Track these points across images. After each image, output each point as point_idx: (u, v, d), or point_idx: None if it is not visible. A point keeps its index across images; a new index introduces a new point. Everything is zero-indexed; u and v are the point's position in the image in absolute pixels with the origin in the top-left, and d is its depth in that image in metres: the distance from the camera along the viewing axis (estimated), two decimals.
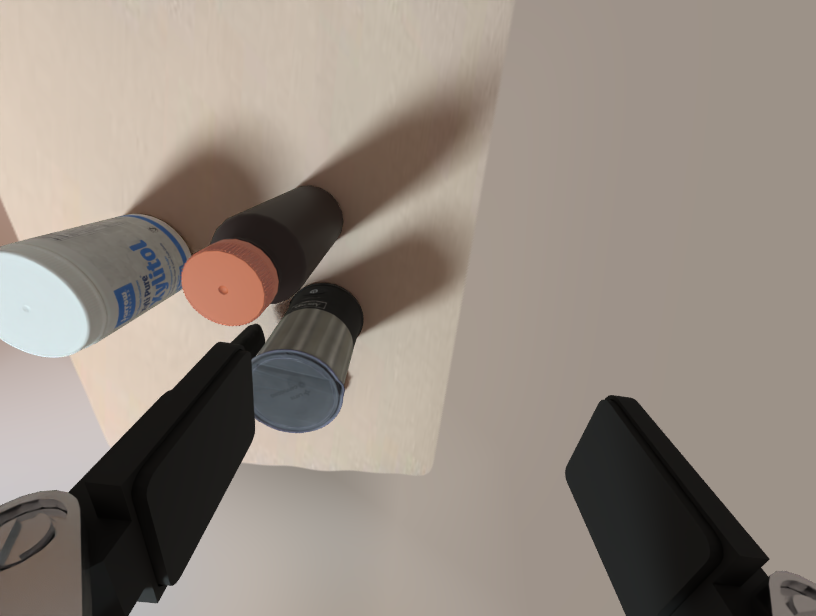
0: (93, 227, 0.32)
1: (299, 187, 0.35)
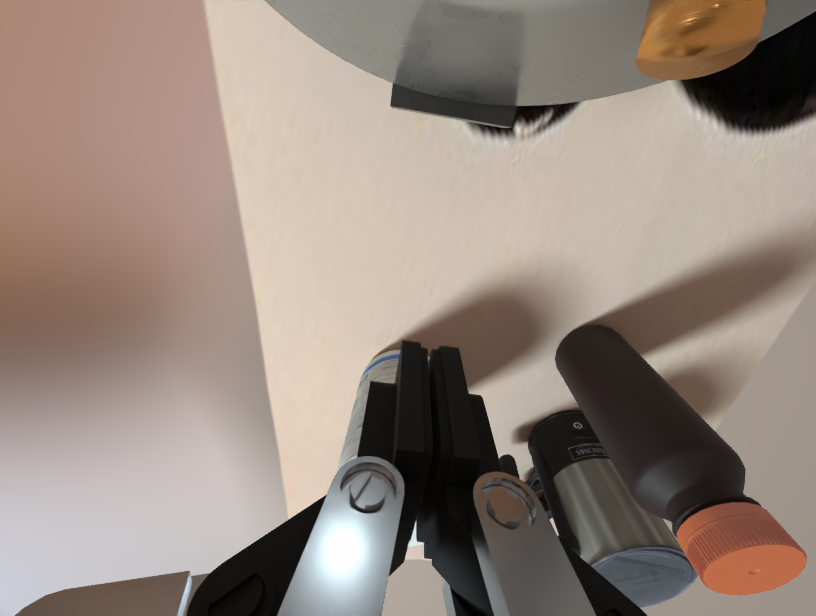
0: None
1: (597, 332, 0.33)
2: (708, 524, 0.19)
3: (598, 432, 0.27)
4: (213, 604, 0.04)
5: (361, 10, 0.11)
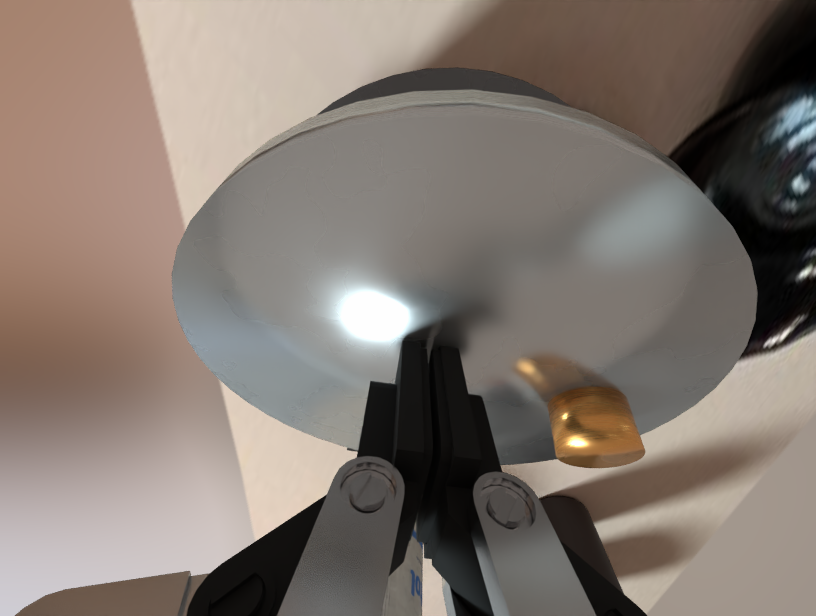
0: None
1: (561, 509, 0.35)
2: None
3: None
4: (213, 603, 0.04)
5: (322, 405, 0.14)
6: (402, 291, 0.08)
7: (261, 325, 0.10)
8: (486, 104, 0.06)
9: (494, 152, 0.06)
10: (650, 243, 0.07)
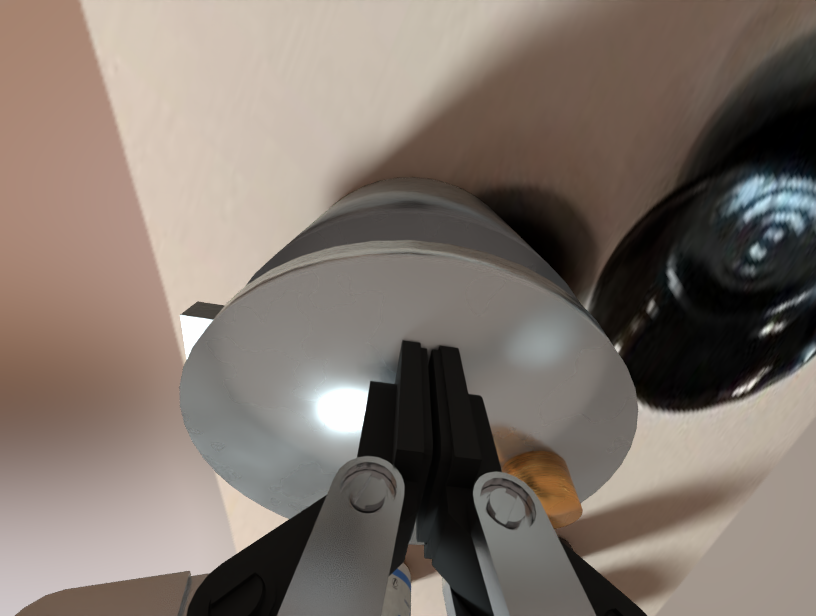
0: None
1: None
2: None
3: None
4: (213, 603, 0.04)
5: (301, 484, 0.15)
6: (370, 375, 0.11)
7: (252, 407, 0.12)
8: (418, 251, 0.09)
9: (425, 281, 0.09)
10: (541, 335, 0.10)
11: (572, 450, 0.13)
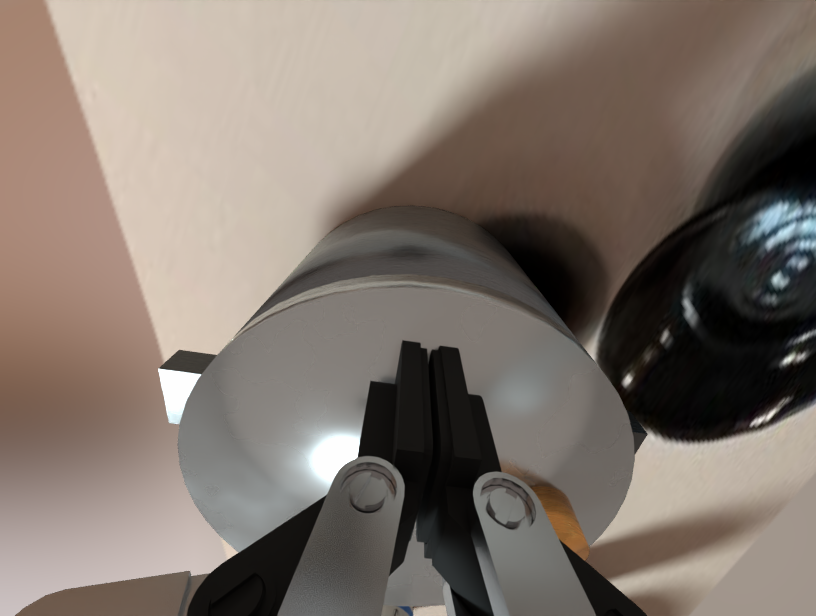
0: None
1: None
2: None
3: None
4: (213, 605, 0.04)
5: None
6: None
7: (251, 444, 0.12)
8: (416, 283, 0.10)
9: (422, 309, 0.09)
10: (534, 361, 0.10)
11: (574, 484, 0.12)
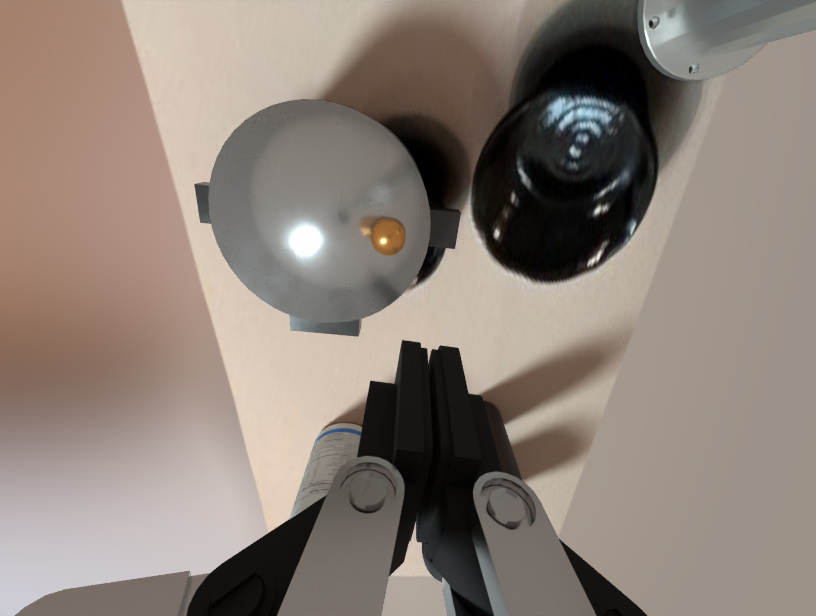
0: (340, 461, 0.43)
1: None
2: None
3: None
4: (213, 603, 0.04)
5: (270, 262, 0.27)
6: (296, 167, 0.24)
7: (243, 197, 0.25)
8: None
9: (311, 108, 0.22)
10: (364, 134, 0.23)
11: (403, 214, 0.25)
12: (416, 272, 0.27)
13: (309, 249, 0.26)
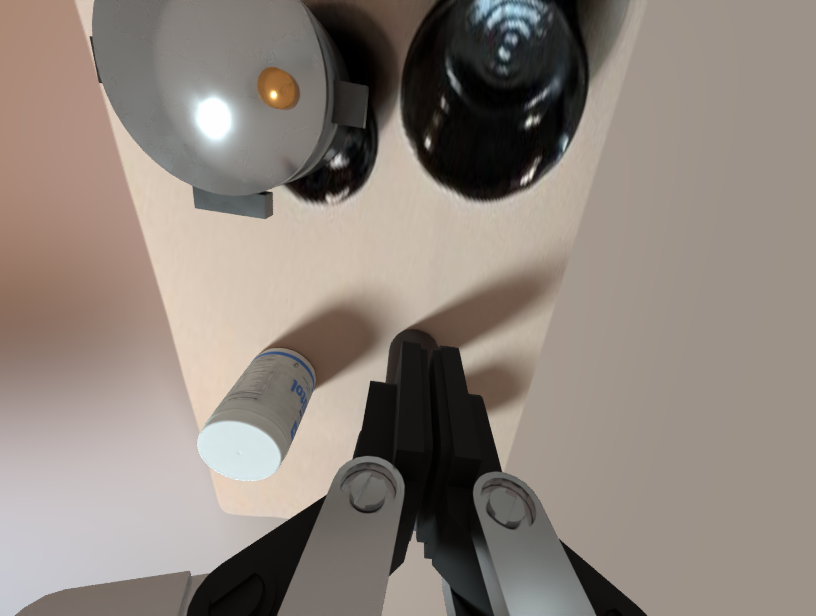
0: (265, 377, 0.43)
1: (409, 334, 0.46)
2: None
3: None
4: (213, 604, 0.04)
5: (162, 119, 0.26)
6: (181, 5, 0.23)
7: (129, 39, 0.24)
8: None
9: None
10: None
11: (295, 68, 0.24)
12: (314, 139, 0.26)
13: (202, 106, 0.26)
